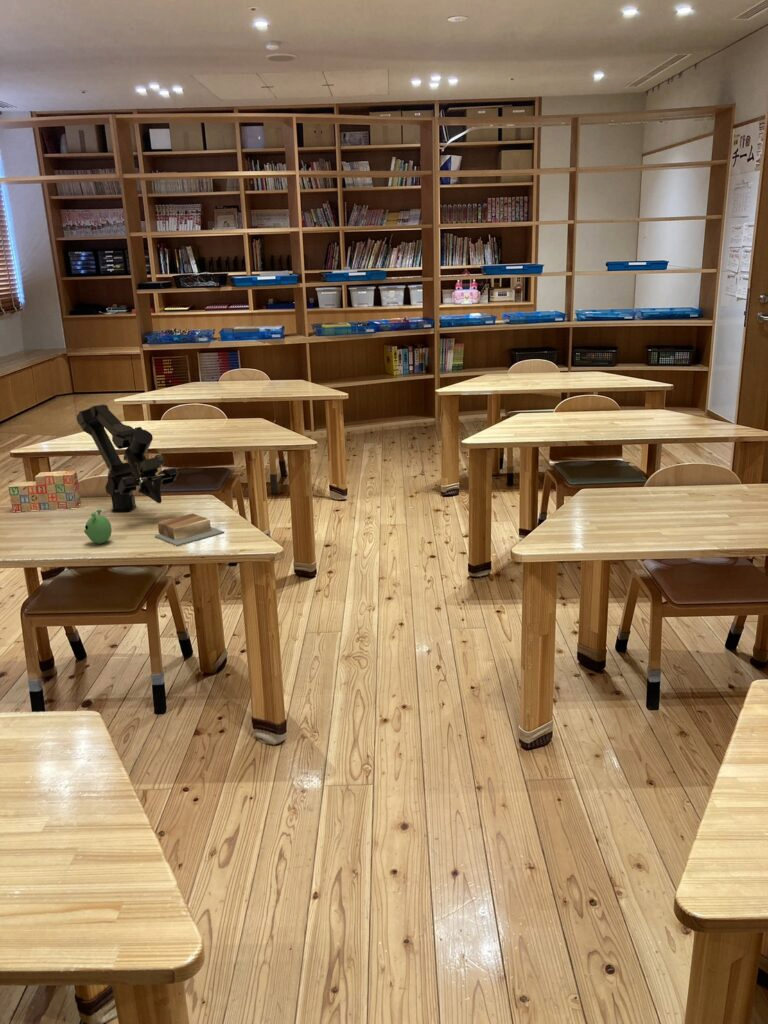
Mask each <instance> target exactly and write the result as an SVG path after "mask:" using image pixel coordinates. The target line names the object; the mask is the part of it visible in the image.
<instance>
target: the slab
mask: <svg viewBox="0 0 768 1024" xmlns="http://www.w3.org/2000/svg"><path fill="white" fill-rule="evenodd" d="M211 527H212V526H211V519H209V518H207V517H205V516H201V515H198V514H195V513H189V514H184V515H181V516H176V517H173V518H169V519H165V520H162V521H158V522H157V529H158V535H159V534H162V535H164V536H167V537H169V538H172V539H174V540H178V539H182V538H186V537H189V536H193V535H197V534H200V533H204V532H207V531H211Z"/></svg>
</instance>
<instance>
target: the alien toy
mask: <svg viewBox="0 0 768 1024" xmlns="http://www.w3.org/2000/svg"><path fill="white" fill-rule="evenodd" d="M102 512H103V510H102V509H101V508H100V509H97V510H96V512H92V513H91V514H90V516H91V517H90V518H88V520H87V522H86V523H85V526H84V530H83V532H84V533H85V535H86V536H87V538H88V539H89V540H90V541H91V542H93V544H98V545H99V544H100V545H101V544H104V543H106V542H108V541H109V539H110V538H111V536H112V524H111V522H110V521H109V520H110V519H108V518H107V517H106V516H104V515H101V513H102ZM97 513H98V515H97Z"/></svg>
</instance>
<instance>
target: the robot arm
mask: <svg viewBox="0 0 768 1024" xmlns="http://www.w3.org/2000/svg"><path fill="white" fill-rule="evenodd" d="M76 422H77V424H78V425H79V426H80V428H81V429H82V431H83V432H84V433H86V434H88V435H89V436H91V438H92V440H93V442H94V443H95V445H96V448H97V450H98V451H99V454H100V455H101V458H102V459H103V461H104V463H105V465H106V467H107V469H108V473H107V482H106V485H105V491H106V494H108V495H110V498H111V505H112V509H111V510H110V511H111V513H124V512H126V513H129V511H130V512H131V511H133V510H134V509H135V508H137V505H136V497H135V494H133V492H134V491H135V492H136V491H137V492H138V493H139V494H143V495H145V496H147V497H148V498H150V499H151V500H153V501H154V502H156V503H157V504H161V503H162V495H161V493H162V492H161V485H164V486H167V485H171V484H174V483H175V481H176V480H177V477H178V475H179V474H180V473H179V471H178V469H177V468H176V467H169V468H164V469H163V470H162V473H160V474H157V473H158V472H159V468H162V466H164V465H165V463H166V460H165V458H164V456H163V455H162V454H157V455H155V456H154V457H151V458H147V456H146V453H148V450H149V448H150V446H151V444H152V441H153V439H154V438H153V437H154V436H153V434H152V433H151V432H150V431H148V430H146V429H143V428H142V426H138V427H135V428H134V427H132V426H130V425H127V424H124V423H122V422H121V420H119V418H117V416H115V414H114V413H113V412H112V411H111V410H110V409H109V406H108V405H107V404H98V405H92V406H91V407H89V408H87V409H84V410H80V411H79V412H78V414H77V415H76ZM107 432H108V433H110V435H111V436H112V437H111V438H112V439H110V436H109V435H108V433H107ZM115 447H116V448H117V449H119V450H121V449H125V451H124V453H123V461H126V462H123V461H122V460H121V457H120V456H119V454H118V451H117V450H116V448H115ZM137 487H138V490H137ZM132 509H133V510H132Z"/></svg>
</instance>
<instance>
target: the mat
mask: <svg viewBox="0 0 768 1024" xmlns="http://www.w3.org/2000/svg"><path fill="white" fill-rule="evenodd" d="M222 533H223V534H225V531H224V530H220V529H219V528H216V527H214V526H213V527H212V526H211V531H207V532H204V533H200V534H197V535H193V536H189V537H186V538H182V539H178V540H174V539H172V538H169V537H167V536H164V535H162V534H159V533H158V534H156V535H154V538H156V539H158V540H160V539H161V540H160V541H163V542H165V541H166V542H165V543H168V544H170V543H171V544H170V545H172V544H174V545H173V546H175V545H176V546H175V547H180V546H183V545H182V544H184V545H187V544H191V543H193V541H195V542H197V541H201V539H202V540H205V539H208V537H209V538H212V537H215V535H216V536H219V535H223V534H222ZM218 534H219V535H218ZM190 542H191V543H190ZM186 543H187V544H186ZM179 545H180V546H179Z"/></svg>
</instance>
